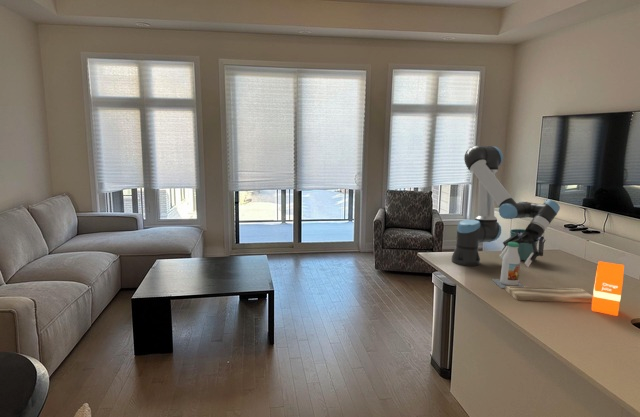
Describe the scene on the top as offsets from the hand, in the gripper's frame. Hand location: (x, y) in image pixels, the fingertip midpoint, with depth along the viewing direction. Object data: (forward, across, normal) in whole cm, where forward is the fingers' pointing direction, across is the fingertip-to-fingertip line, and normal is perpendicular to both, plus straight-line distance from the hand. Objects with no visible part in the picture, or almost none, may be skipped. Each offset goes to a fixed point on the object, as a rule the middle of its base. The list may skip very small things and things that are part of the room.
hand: (513, 261), depth 198 cm
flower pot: (-25, +29, -42) cm, 56 cm away
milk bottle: (+8, +1, -7) cm, 11 cm away
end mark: (+9, 0, -7) cm, 11 cm away
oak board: (+6, -18, -10) cm, 21 cm away
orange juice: (+2, -37, -15) cm, 40 cm away
